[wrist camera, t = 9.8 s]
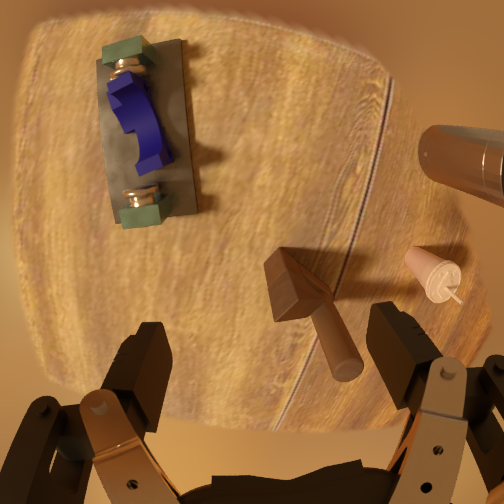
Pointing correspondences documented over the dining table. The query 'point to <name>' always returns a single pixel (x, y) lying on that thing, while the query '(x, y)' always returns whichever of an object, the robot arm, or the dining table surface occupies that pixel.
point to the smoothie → (434, 274)
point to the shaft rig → (126, 145)
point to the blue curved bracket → (139, 120)
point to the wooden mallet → (312, 311)
